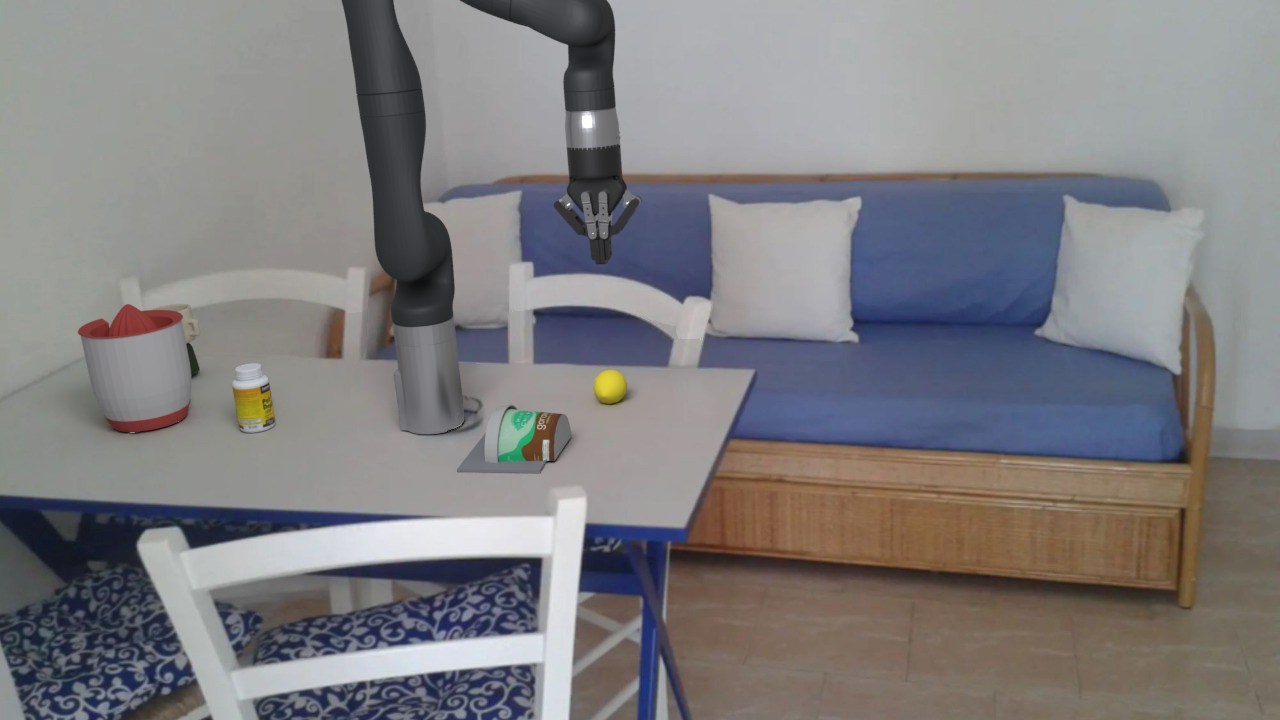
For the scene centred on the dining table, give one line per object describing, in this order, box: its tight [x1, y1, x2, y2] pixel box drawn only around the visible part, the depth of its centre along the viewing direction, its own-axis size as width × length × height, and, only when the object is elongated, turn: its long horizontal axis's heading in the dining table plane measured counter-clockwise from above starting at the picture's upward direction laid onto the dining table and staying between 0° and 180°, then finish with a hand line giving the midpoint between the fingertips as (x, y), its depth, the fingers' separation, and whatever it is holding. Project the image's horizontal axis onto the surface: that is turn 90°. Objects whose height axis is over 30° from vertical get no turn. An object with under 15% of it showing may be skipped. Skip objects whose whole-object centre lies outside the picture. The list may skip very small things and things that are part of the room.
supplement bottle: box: [231, 362, 276, 434], centre depth 180 cm, size 6×6×10 cm
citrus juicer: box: [77, 303, 192, 433], centre depth 185 cm, size 16×17×20 cm
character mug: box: [151, 303, 201, 377], centre depth 208 cm, size 11×7×13 cm, turn 74°
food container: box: [485, 404, 572, 463], centre depth 165 cm, size 12×6×10 cm
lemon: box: [592, 369, 628, 405], centre depth 183 cm, size 7×5×5 cm
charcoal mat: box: [456, 432, 548, 474], centre depth 166 cm, size 12×16×1 cm
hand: (602, 263), depth 164 cm, fingers closed
